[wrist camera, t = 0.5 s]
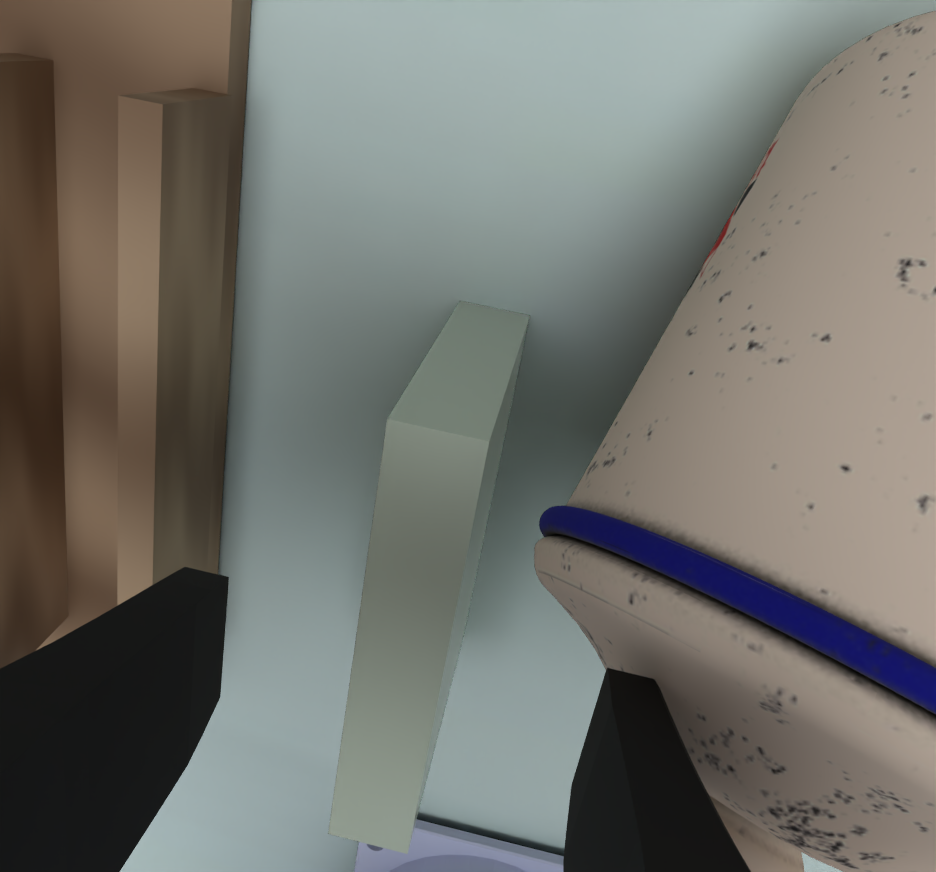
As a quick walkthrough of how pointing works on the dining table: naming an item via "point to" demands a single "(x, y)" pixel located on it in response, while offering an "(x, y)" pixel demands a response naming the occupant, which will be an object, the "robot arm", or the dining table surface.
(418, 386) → the upright gray panel
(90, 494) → the walnut rack
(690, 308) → the beige mug
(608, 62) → the dining table surface
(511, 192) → the dining table surface
